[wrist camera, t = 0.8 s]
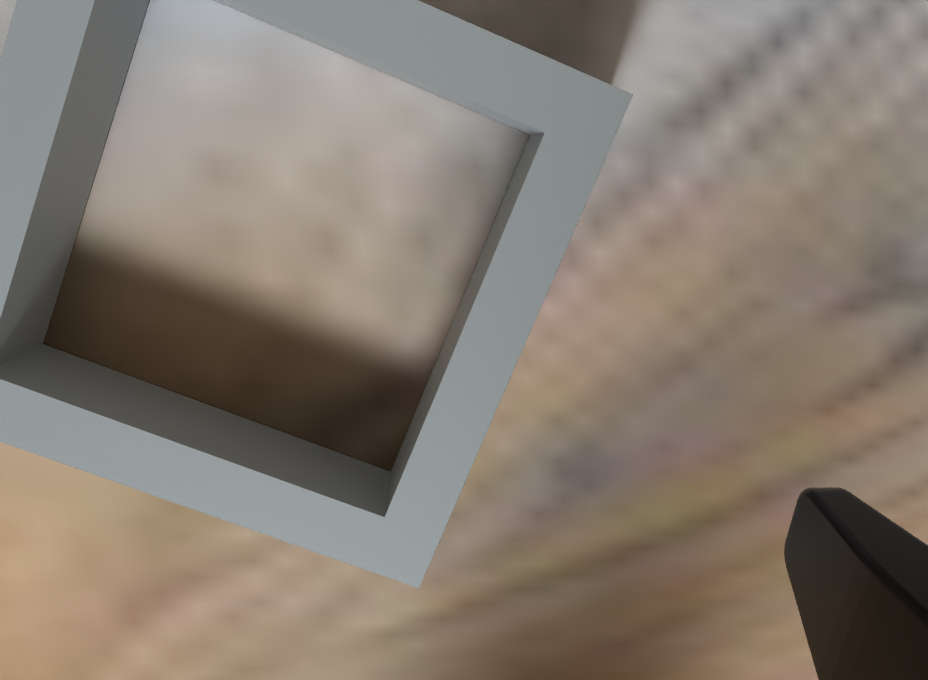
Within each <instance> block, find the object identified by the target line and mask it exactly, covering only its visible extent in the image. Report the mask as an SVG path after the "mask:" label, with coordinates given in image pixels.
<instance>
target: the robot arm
mask: <svg viewBox="0 0 928 680" xmlns="http://www.w3.org/2000/svg"><path fill="white" fill-rule="evenodd" d="M784 554H785V563H786V568H787V571H788V575H789V578H790V582H791V585H792V588H793V592H794V595H795V599H796V602H797V606H798V609H799V613H800V616H801V620H802V623H803V627H804V630H805V634H806V637H807V641H808V644H809V648H810V651H811V655H812V658H813V662H814V665H815V669H816V672H817V676H818V679H819V680H928V545H927V544H925V543H924V542H922V541H921V540H919V539H918V538H916V537H915V536H913V535H912V534H910V533H909V532H907V531H906V530H904V529H903V528H901V527H900V526H898V525H897V524H896V523H894V522H893V521H891V520H890V519H888V518H887V517H885V516H884V515H882V514H881V513H879V512H878V511H876V510H875V509H873V508H872V507H870V506H869V505H867V504H866V503H865V502H863V501H862V500H860V499H859V498H857V497H856V496H854V495H853V494H851V493H850V492H848V491H846V490H845V489H842V488H807V489H805V490H803V491H802V493H801V494H800V495H799V498H798V500H797V504H796V507H795V511H794V514H793V517H792V521H791V524H790V528H789V531H788V535H787V538H786V542H785V549H784Z"/></svg>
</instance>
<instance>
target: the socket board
mask: <svg viewBox="0 0 928 680" xmlns="http://www.w3.org/2000/svg"><path fill="white" fill-rule="evenodd" d="M215 1H217V2H219V3H222V4H224V5H227V6H229V7H231V8H234V9H236V10H238V11H241V12H243V13H245V14H248V15H250V16H252V17H255V18H257V19H259V20H262V21H264V22H266V23H269V24H271V25H273V26H276V27H278V28H280V29H283V30H285V31H288V32H290V33H292V34H295V35H297V36H299V37H302V38H304V39H306V40H309V41H311V42H313V43H316V44H318V45H320V46H323V47H325V48H327V49H330V50H332V51H334V52H337V53H339V54H341V55H344V56H346V57H349V58H351V59H353V60H356V61H358V62H360V63H363V64H365V65H367V66H370V67H372V68H374V69H377V70H379V71H381V72H384V73H386V74H388V75H391V76H393V77H395V78H398V79H400V80H402V81H405V82H407V83H410V84H412V85H414V86H417V87H419V88H421V89H424V90H426V91H428V92H431V93H433V94H435V95H438V96H440V97H442V98H445V99H447V100H449V101H452V102H454V103H456V104H459V105H461V106H463V107H466V108H468V109H471V110H473V111H475V112H478V113H480V114H482V115H485V116H487V117H489V118H492V119H494V120H496V121H499V122H501V123H503V124H506V125H508V126H510V127H513V128H515V129H517V130H520V131H522V132H524V133H527V134H529V135H530V136H529V138H528V141H527V143H526V145H525V148H524V150H523V153H522V155H521V157H520V160H519V162H518V165H517V167H516V170H515V172H514V174H513V177H512V179H511V182H510V184H509V187H508V189H507V191H506V194H505V196H504V199H503V201H502V203H501V206H500V208H499V211H498V213H497V216H496V218H495V220H494V223H493V225H492V228H491V230H490V233H489V235H488V237H487V240H486V242H485V245H484V247H483V249H482V252H481V254H480V257H479V259H478V262H477V264H476V266H475V269H474V271H473V274H472V276H471V279H470V281H469V283H468V286H467V288H466V291H465V293H464V295H463V298H462V300H461V303H460V305H459V308H458V310H457V312H456V315H455V317H454V320H453V322H452V325H451V327H450V329H449V332H448V334H447V337H446V339H445V341H444V344H443V346H442V349H441V351H440V354H439V356H438V358H437V361H436V363H435V366H434V368H433V371H432V373H431V375H430V378H429V380H428V383H427V385H426V388H425V390H424V392H423V395H422V397H421V400H420V402H419V404H418V407H417V409H416V412H415V414H414V417H413V419H412V421H411V424H410V426H409V429H408V431H407V434H406V436H405V438H404V441H403V443H402V446H401V448H400V450H399V453H398V455H397V458H396V460H395V463H394V465H393V467H392V470H391V472H390V471H388V470H385V469H382V468H379V467H377V466H374V465H371V464H369V463H366V462H363V461H360V460H358V459H355V458H352V457H349V456H347V455H344V454H341V453H339V452H336V451H333V450H330V449H328V448H325V447H322V446H320V445H317V444H314V443H311V442H309V441H306V440H303V439H300V438H298V437H295V436H292V435H290V434H287V433H284V432H281V431H279V430H276V429H273V428H270V427H268V426H265V425H262V424H260V423H257V422H254V421H251V420H249V419H246V418H243V417H240V416H238V415H235V414H232V413H230V412H227V411H224V410H221V409H219V408H216V407H213V406H210V405H208V404H205V403H202V402H200V401H197V400H194V399H191V398H189V397H186V396H183V395H181V394H178V393H175V392H172V391H170V390H167V389H164V388H161V387H159V386H156V385H153V384H151V383H148V382H145V381H142V380H140V379H137V378H134V377H131V376H129V375H126V374H123V373H121V372H118V371H115V370H112V369H110V368H107V367H104V366H101V365H99V364H96V363H93V362H91V361H88V360H85V359H82V358H80V357H77V356H74V355H71V354H69V353H66V352H63V351H61V350H58V349H55V348H52V347H50V346H47V345H44V344H43V342H44V339H45V336H46V333H47V329H48V326H49V323H50V320H51V316H52V313H53V310H54V307H55V304H56V300H57V297H58V294H59V291H60V287H61V284H62V281H63V278H64V275H65V271H66V268H67V265H68V262H69V258H70V255H71V252H72V249H73V245H74V242H75V239H76V236H77V233H78V229H79V226H80V223H81V220H82V216H83V213H84V210H85V207H86V203H87V200H88V197H89V194H90V191H91V187H92V184H93V181H94V178H95V174H96V171H97V168H98V165H99V161H100V158H101V155H102V152H103V149H104V145H105V142H106V139H107V136H108V132H109V129H110V126H111V123H112V119H113V116H114V113H115V110H116V107H117V103H118V100H119V97H120V94H121V90H122V87H123V84H124V81H125V78H126V74H127V71H128V68H129V65H130V61H131V58H132V55H133V52H134V48H135V45H136V42H137V39H138V36H139V32H140V29H141V26H142V23H143V19H144V16H145V13H146V10H147V6H148V3H149V0H17V3H16V6H15V10H14V14H13V17H12V21H11V24H10V28H9V32H8V35H7V39H6V42H5V46H4V50H3V53H2V57H1V60H0V442H3V443H6V444H8V445H11V446H14V447H17V448H20V449H23V450H26V451H28V452H31V453H34V454H37V455H40V456H43V457H46V458H48V459H51V460H54V461H57V462H60V463H63V464H65V465H68V466H71V467H74V468H77V469H80V470H83V471H85V472H88V473H91V474H94V475H97V476H100V477H103V478H105V479H108V480H111V481H114V482H117V483H120V484H122V485H125V486H128V487H131V488H134V489H137V490H140V491H142V492H145V493H148V494H151V495H154V496H157V497H160V498H162V499H165V500H168V501H171V502H174V503H177V504H179V505H182V506H185V507H188V508H191V509H194V510H197V511H199V512H202V513H205V514H208V515H211V516H214V517H217V518H219V519H222V520H225V521H228V522H231V523H234V524H236V525H239V526H242V527H245V528H248V529H251V530H254V531H256V532H259V533H262V534H265V535H268V536H271V537H274V538H276V539H279V540H282V541H285V542H288V543H291V544H293V545H296V546H299V547H302V548H305V549H308V550H311V551H313V552H316V553H319V554H322V555H325V556H328V557H331V558H333V559H336V560H339V561H342V562H345V563H348V564H350V565H353V566H356V567H359V568H362V569H365V570H368V571H370V572H373V573H376V574H379V575H382V576H385V577H388V578H390V579H393V580H396V581H399V582H402V583H405V584H407V585H410V586H413V587H416V588H419V587H420V584H421V582H422V580H423V578H424V575H425V573H426V571H427V568H428V566H429V564H430V561H431V559H432V557H433V554H434V552H435V550H436V548H437V545H438V543H439V541H440V538H441V536H442V534H443V531H444V529H445V527H446V525H447V522H448V520H449V518H450V515H451V513H452V511H453V508H454V506H455V504H456V501H457V499H458V497H459V495H460V492H461V490H462V488H463V485H464V483H465V481H466V478H467V476H468V474H469V472H470V469H471V467H472V465H473V462H474V460H475V458H476V455H477V453H478V451H479V448H480V446H481V444H482V442H483V439H484V437H485V435H486V432H487V430H488V428H489V425H490V423H491V421H492V419H493V416H494V414H495V412H496V409H497V407H498V405H499V402H500V400H501V398H502V395H503V393H504V391H505V389H506V386H507V384H508V382H509V379H510V377H511V375H512V372H513V370H514V368H515V366H516V363H517V361H518V359H519V356H520V354H521V352H522V349H523V347H524V345H525V342H526V340H527V338H528V336H529V333H530V331H531V329H532V326H533V324H534V322H535V319H536V317H537V315H538V313H539V310H540V308H541V306H542V303H543V301H544V299H545V296H546V294H547V292H548V289H549V287H550V285H551V283H552V280H553V278H554V276H555V273H556V271H557V269H558V266H559V264H560V262H561V260H562V257H563V255H564V253H565V250H566V248H567V246H568V243H569V241H570V239H571V236H572V234H573V232H574V230H575V227H576V225H577V223H578V220H579V218H580V216H581V213H582V211H583V209H584V207H585V204H586V202H587V200H588V197H589V195H590V193H591V190H592V188H593V186H594V183H595V181H596V179H597V177H598V174H599V172H600V170H601V167H602V165H603V163H604V160H605V158H606V156H607V154H608V151H609V149H610V147H611V144H612V142H613V140H614V137H615V135H616V133H617V130H618V128H619V126H620V124H621V121H622V119H623V117H624V114H625V112H626V110H627V107H628V105H629V103H630V101H631V98H632V96H633V94H631V93H628V92H626V91H624V90H622V89H619V88H617V87H615V86H612V85H610V84H608V83H606V82H603V81H601V80H599V79H596V78H594V77H592V76H590V75H587V74H585V73H583V72H581V71H578V70H576V69H574V68H571V67H569V66H567V65H565V64H562V63H560V62H558V61H556V60H553V59H551V58H549V57H546V56H544V55H542V54H540V53H537V52H535V51H533V50H530V49H528V48H526V47H524V46H521V45H519V44H517V43H515V42H512V41H510V40H508V39H505V38H503V37H501V36H499V35H496V34H494V33H492V32H489V31H487V30H485V29H483V28H480V27H478V26H476V25H474V24H471V23H469V22H467V21H464V20H462V19H460V18H458V17H455V16H453V15H451V14H449V13H446V12H444V11H442V10H439V9H437V8H435V7H433V6H430V5H428V4H426V3H423V2H421V1H419V0H215Z"/></svg>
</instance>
